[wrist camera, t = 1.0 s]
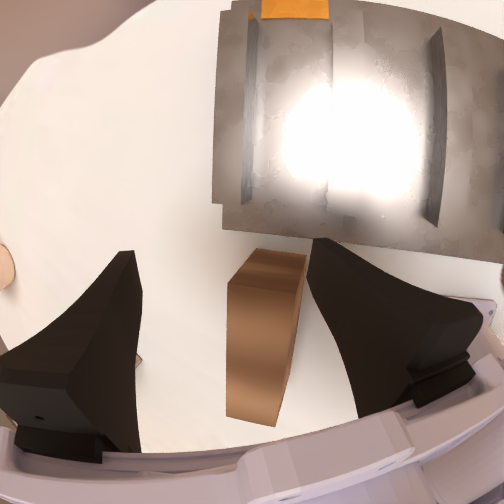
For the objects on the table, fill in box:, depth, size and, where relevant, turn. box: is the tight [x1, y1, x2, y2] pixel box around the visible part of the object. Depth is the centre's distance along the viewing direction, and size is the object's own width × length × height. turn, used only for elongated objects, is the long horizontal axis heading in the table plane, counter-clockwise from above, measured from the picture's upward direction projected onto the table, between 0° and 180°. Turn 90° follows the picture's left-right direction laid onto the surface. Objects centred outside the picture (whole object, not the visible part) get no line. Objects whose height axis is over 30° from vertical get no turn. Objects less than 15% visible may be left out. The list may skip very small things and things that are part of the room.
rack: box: [212, 0, 504, 264], centre depth 16 cm, size 19×25×3 cm
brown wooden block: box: [226, 249, 307, 427], centre depth 22 cm, size 12×4×7 cm, turn 177°
